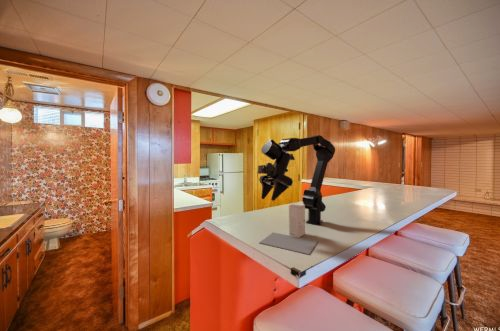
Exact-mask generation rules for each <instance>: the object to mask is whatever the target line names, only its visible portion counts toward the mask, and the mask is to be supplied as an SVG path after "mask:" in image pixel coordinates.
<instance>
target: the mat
mask: <svg viewBox="0 0 500 331" xmlns="http://www.w3.org/2000/svg"><path fill="white" fill-rule="evenodd" d="M318 243H319V241H318V240H314V239H309V238H304V237H294V236H290V235H289V234H288V235H287V234H284V233H283V234H282V233H278V232H272V233H270V234H268V236H267V235H266V237H265V238H263V239H261V241H258V244H260V245H265V246H270V247H273V248H278V249H282V250H285V251H286V250H287V251H290V252H294V253H300V254H304V255H308V256H310V255H311V253H312V252H313V250H314V249H315V247H316V246H317V244H318Z"/></svg>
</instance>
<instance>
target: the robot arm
mask: <svg viewBox="0 0 500 331" xmlns="http://www.w3.org/2000/svg"><path fill="white" fill-rule="evenodd" d="M306 146H312V147H313V150H314V151H315V157H316V159H317V161H316V164H315V168H314V172H313V175H312V179H311V183H310V186H309V188H308V189H304V191H303V195H301V198H302V204H305V210H306V209H307V210H308V214H307V216H308V218H307V220H305V224H306V223H307V224H312V225H318V226H319V225H322V223H323V222H324V220H323V219H321V218H322V212H324V211H326V204H324V202H323V194H322V192H321V190H322V185H323V183H324V178H325V175H326V170H327V167H328V164H329V162H330V161H331V160H332V159H333V157H334V155H335V153H336V147H335V146H334V144H333V143H332V142H331V141H329V140H327V139H326V138H324V137H323V135H319V134H318V135H312V136H308V137H307V136H306V137H302V138H298V137H289V138H282V139H281V140H280V142H279V143H277V142H276V141H275V140H274V139H273V138H270V139H268V140H267V141H266V142H265V143H264V144H263V146H262V147H261V150H260V151H261V154H263V155H264V156H266V157H267V158H269V159H270V160H272V161H274V163H273V164H272V162H267V163H265V164H262V165H258V166H257V174H261V176H260V177H259V179H258V181H259V182H260V184H261V187H262V188H261V199H262V200H265V198H266V197H267V196H268V195H269V194H270V192H271V191H272V189H273V191H272V196H271V199H270V200H271V201H273V202H274V201H275V200H277V199H278V197H279V196H281V195H282V194H283V193H284V192H285V191H287V190H288V189H289V188H290V187H292V186H293V182H294V181H293V178H291V177H290V176H288V175H286V173H288V172H289V169H288V166H289V163H290V162H291V161H295V160H296V159H295V157H294V154H293V153H289V152H296V151H298V150H300V149H301V148H304V147H306ZM262 174H263V175H262Z"/></svg>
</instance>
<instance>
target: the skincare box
mask: <svg viewBox="0 0 500 331" xmlns="http://www.w3.org/2000/svg"><path fill="white" fill-rule="evenodd" d="M288 222H289V223H288V235H289V236H294V237H299V238H302V236H304V235H306V209H305V204H303V203H297V202H296V203H292V204H289V205H288Z"/></svg>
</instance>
